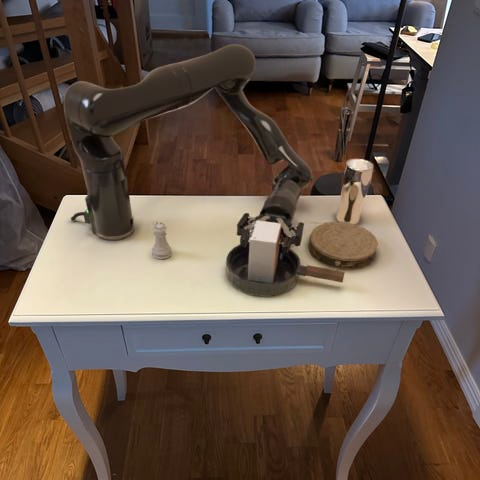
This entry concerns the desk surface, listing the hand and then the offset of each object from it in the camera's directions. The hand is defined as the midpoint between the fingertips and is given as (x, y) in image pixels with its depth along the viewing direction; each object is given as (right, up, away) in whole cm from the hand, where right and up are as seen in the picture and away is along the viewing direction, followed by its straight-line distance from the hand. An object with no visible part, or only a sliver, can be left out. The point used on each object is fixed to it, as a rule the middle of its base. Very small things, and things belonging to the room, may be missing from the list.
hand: (263, 247), depth 94 cm
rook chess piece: (-23, 0, +11) cm, 25 cm away
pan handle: (+12, -6, +3) cm, 14 cm away
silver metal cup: (+24, +11, +25) cm, 36 cm away
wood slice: (+20, +2, +15) cm, 24 cm away
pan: (0, -5, +7) cm, 8 cm away
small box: (0, -5, +6) cm, 8 cm away
